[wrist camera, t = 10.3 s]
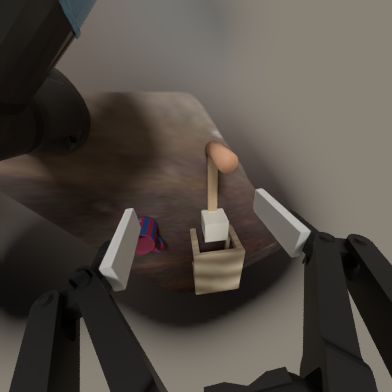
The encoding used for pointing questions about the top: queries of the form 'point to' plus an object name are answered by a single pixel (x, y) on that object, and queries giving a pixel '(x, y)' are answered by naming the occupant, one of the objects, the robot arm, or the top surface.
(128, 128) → the top surface
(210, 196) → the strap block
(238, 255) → the wooden holder
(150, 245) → the mug
